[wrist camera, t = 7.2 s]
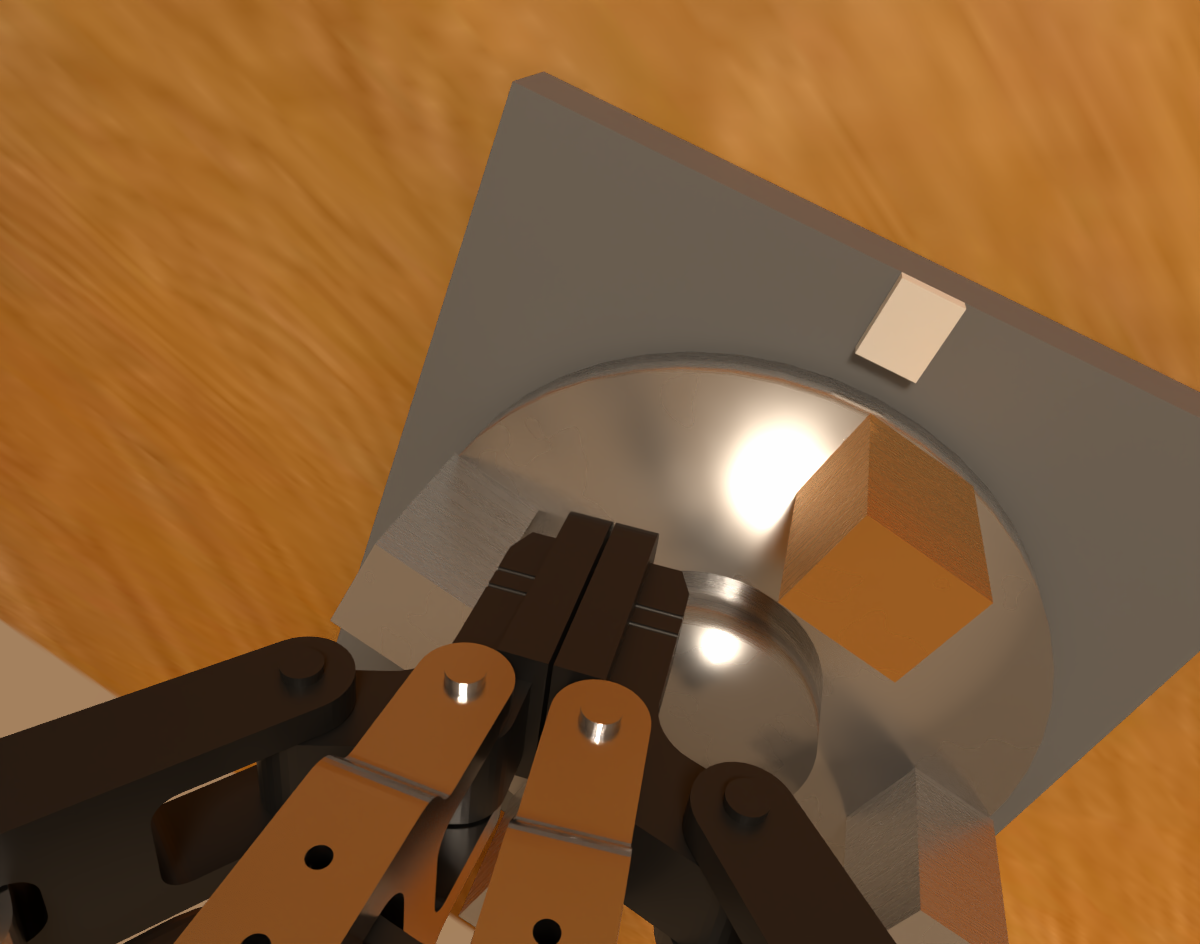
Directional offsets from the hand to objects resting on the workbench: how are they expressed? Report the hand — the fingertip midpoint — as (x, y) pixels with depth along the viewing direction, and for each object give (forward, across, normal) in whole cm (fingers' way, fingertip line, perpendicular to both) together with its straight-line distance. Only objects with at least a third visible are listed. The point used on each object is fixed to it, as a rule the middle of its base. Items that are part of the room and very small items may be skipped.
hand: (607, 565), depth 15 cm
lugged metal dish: (+6, -2, +7) cm, 9 cm away
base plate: (+9, -2, +7) cm, 11 cm away
